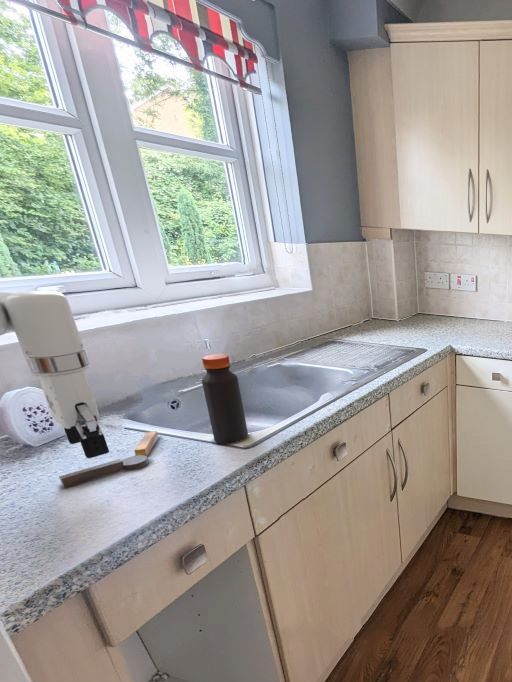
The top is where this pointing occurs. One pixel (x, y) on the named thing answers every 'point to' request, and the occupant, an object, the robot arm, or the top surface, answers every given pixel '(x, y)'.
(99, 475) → the spoon
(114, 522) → the top surface
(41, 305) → the robot arm
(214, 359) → the bottle
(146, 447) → the wooden bar
